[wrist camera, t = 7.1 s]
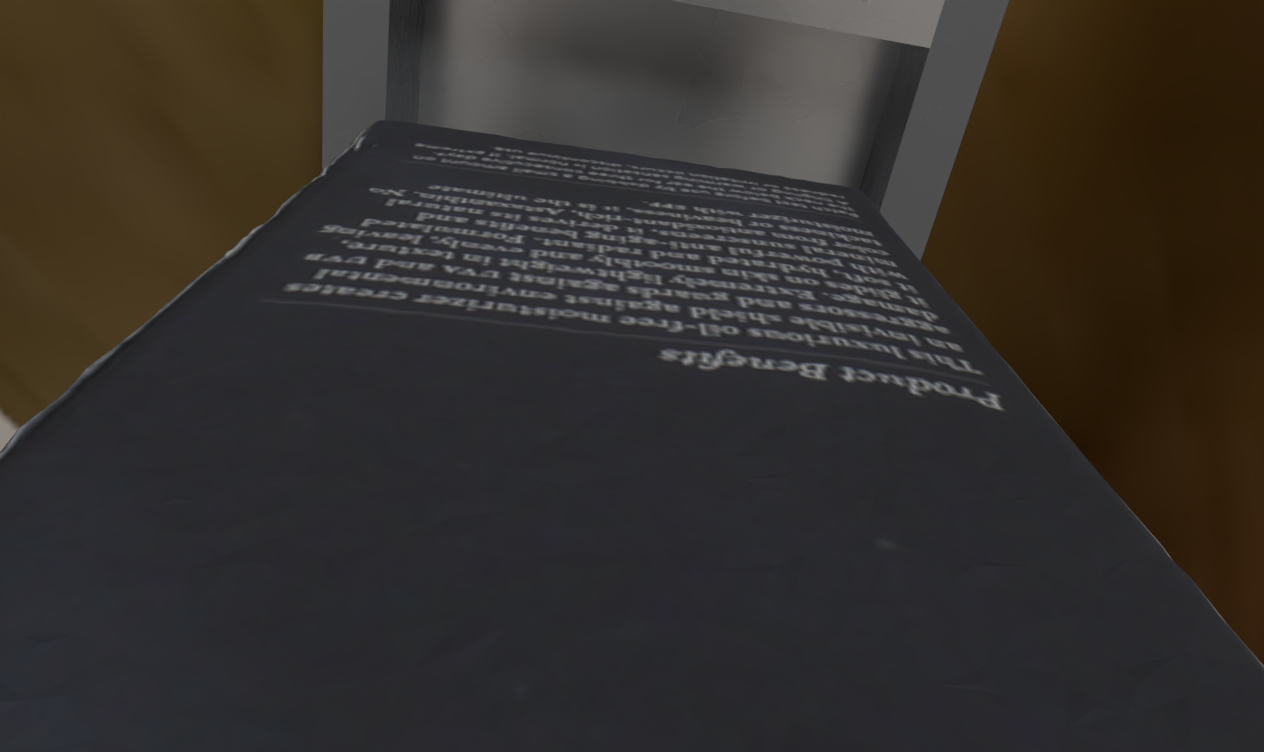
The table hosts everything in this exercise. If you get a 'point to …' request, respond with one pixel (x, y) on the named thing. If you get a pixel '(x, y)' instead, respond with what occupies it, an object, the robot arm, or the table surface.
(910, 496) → the small box
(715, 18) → the rail seat
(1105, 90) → the table surface
